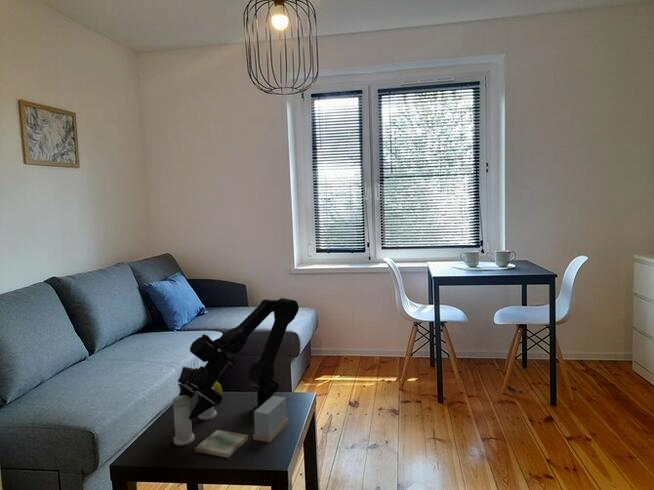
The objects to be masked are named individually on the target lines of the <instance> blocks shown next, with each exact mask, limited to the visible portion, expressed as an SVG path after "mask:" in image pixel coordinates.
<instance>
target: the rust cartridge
mask: <svg viewBox="0 0 654 490" xmlns="http://www.w3.org/2000/svg"><path fill="white" fill-rule="evenodd" d="M212 389H213V387H212ZM198 394H199V395H201V396H203V395H202V394H201V393H200V392H198ZM217 414H218V413H217V410H216V409H215V407H214V406H213V407H212V408H210V409H208V410H206V411H205V412H203V413H202V414H200V415H199V416H197V417H198V419H199V420H202V421H208V420H212V419H214V418H216V417H217Z"/></svg>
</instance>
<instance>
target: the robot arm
mask: <svg viewBox="0 0 654 490" xmlns="http://www.w3.org/2000/svg"><path fill="white" fill-rule="evenodd" d="M299 309H300V305H299V303H298V301H297V300H294V299H291V298H290V299H289V298H286V297H285V298H284V297H282V298H279V299H263V300H261V302H260V304H259V305H257V306H256V308H255V309H253V311H251V312H250V314H249V315H247V317H245V319H244V320H242V321H241V322H240V324H238V325H237V326H235V327H233V328H230V329H229V330H227V331H226V332H225V333H223V334H222V335H221V336H220V337H219V338H216V339H214V340H213V339H211V338H210V337H209V336H208V334H202V335H201V337H198V338H196V339H195V340H194V341H192V342H191V344H190V346H189V352H190V353H191V354H193V356H194V357H197V358H198V359H199V360H200V361H202V362H203V363H206V364H205V365H204V366H203V365H201V366H199V367H198V368H197V367H195V368H194V367H193V368H192V367H188V366H183V367H182V369H181V373H180V375H179V378H178V379H177V382H178V383H177V384H178V387H179V394H178V396H182V395H187V396H190V400H191V399H192V398H193V397H194V396H195V395H196V393H195V392H198V394H197V402H196V404H195V406H194V407H193V409H192V411H191V414H190V416H189V419H190V420H191V421H192V420H194V419H196V418H197V417H198V416H199V415H200V414H202V413H203V412H205V411H206V410H208V409H210V408H212V407H213V406H214V408H216V405H218V406H220V405H221V403H222V402H223V394H222V395H220V394H219V393H218V392H216V391H215V390H213V389H212V387H213V385H214V384H215V382H220V381H221V380H222V377H221V375H222V374H223V372H224V370H225V369H226V368H227V366H228V365H229V364H230V365H233V366H234V365H235V364H236V363H235V356H234V355H236V354H238V353H240V352H241V351H242V349H243V348H244V347H245V345H246V344H247V342H248V338H249V337H250V335H251V334H252V333H253V332H254V331H255V330H256V329H257V328H258V327H259V326H260V325H261V324H262V323H263V322H264V321H265V319H266V318H268V316H270V314H272V313H273V317H274V321H273V324H272V326H271V330H270V332H269V335H268V337H267V341H266V343H265V345H264V347H263V351H262V354H261V356H260V358H259V360H258V361H257V362H256V363H255V362H252V363H251V364H250V365H251V366H250V369H249V370H248V372H247V375H248V377H247V379H248V382H249V384H250V385H251V387H252V388H253V389H255V390H257V392H256V393H257V394H256V395H257V398H256V399H257V404H256V405H254V407H253V409H254V410H257V409H258V408H259V407H260V406H261V405H262V404H264V403H265V402H266V401H267V400H268V399H269V398H271V397H272V396H275V393H276V392H278V391H279V388H280V384H279V383H278V382H277V381H276V380H274V377H275V367H274V364H275V360H276V358H277V355H278V352H279V350H280V347H281V344H282V342H283V339H284V336H285V333H286V332H287V327H289V324H291V323H292V322H293V320H295V318H296V317H297V314H298V312H299ZM219 350H220V351H219ZM227 353H230V354H227ZM233 354H234V355H233ZM199 392H200V393H201V394H202V395H203V396H201V395H199Z"/></svg>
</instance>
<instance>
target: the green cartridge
mask: <svg viewBox="0 0 654 490" xmlns="http://www.w3.org/2000/svg"><path fill="white" fill-rule="evenodd" d="M172 405H173V417H174V433H175V434H174V435H175V436H174V437H173V443H174V444H175V446H186V445H189V444H192V443H193V442H194V440H195V434H194V433H193V428H192V427H193V426H192V425H193V424H192V420H190V419H189V416H190V414H191V412H192V411H191V399H190V396H187V395H182V396H179V395H178V396H175V397H174V398H173V399H172Z"/></svg>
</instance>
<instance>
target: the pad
mask: <svg viewBox="0 0 654 490" xmlns="http://www.w3.org/2000/svg"><path fill="white" fill-rule="evenodd" d="M248 440H249V434H245V433H239V432H232V431H228V430H227V431H226V430H221V429H217V430H215V431H214V432H212V434H210V435H208V436H207V437H206V438H205V439H204V440H203V441H201V442H200V443H199V444H198V445H197V446H196V447H194V449H195V450H194V451H195V452H196V453H200V454H207V455H212V456H217V457H222V458H227V459H228V458H230V457H231V456H232V455H233V454H234V453H235V452H236V451H237V450H238V449H239V448H240V447H241V446H242V445H243V444H245V442H247V441H248Z"/></svg>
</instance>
